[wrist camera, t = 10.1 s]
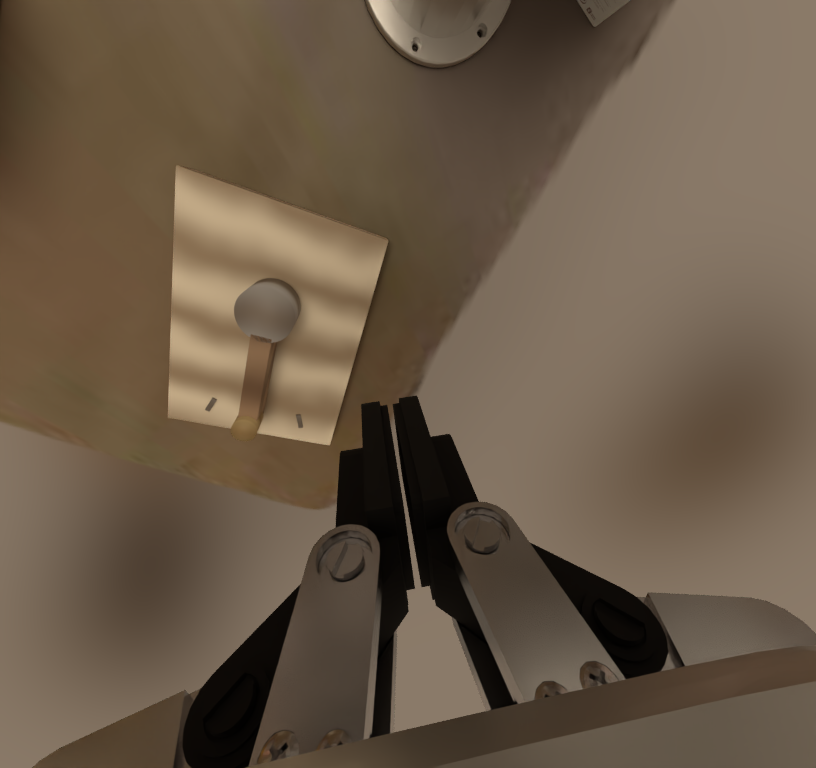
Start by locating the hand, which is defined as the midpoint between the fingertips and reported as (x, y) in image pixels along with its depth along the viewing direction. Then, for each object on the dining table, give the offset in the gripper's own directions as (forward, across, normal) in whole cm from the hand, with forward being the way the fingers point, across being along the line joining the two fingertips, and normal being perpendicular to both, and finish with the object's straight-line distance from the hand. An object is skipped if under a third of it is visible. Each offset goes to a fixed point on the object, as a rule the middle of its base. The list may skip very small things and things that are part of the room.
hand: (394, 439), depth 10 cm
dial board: (+29, +11, +4) cm, 31 cm away
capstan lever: (+26, +12, +7) cm, 29 cm away
